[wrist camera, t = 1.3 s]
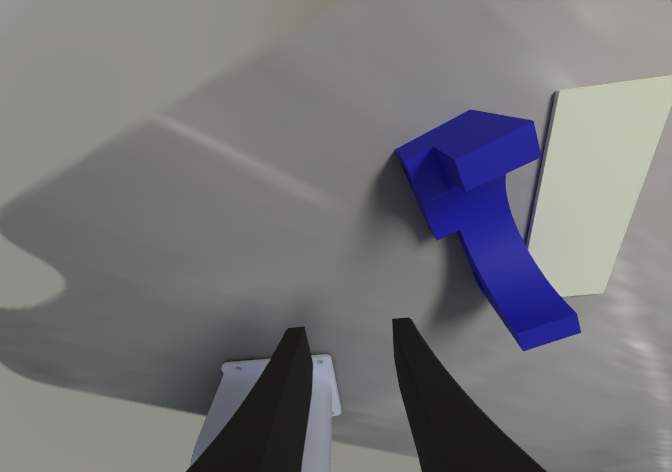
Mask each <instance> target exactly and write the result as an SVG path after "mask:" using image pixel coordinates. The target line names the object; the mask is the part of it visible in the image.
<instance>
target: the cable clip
mask: <svg viewBox="0 0 672 472" xmlns="http://www.w3.org/2000/svg"><path fill="white" fill-rule="evenodd" d="M395 152H396V154H397V156H398V158H399V161H400V163H401V165H402V167H403V170H404V172H405V174H406V176H407V179H408V181H409V183H410V185H411V188H412V190H413V192H414V194H415V197H416V199H417V201H418V203H419V206H420V208H421V210H422V212H423V215H424V217H425V219H426V221H427V224H428V226H429V228H430V230H431V232H432V234H433V235H434V237H435V239H436V240H439V239H441V238H444V237H446V236H448V235H450V234H453V233H455V232H457V234H458V236H459V239H460V241H461V244H462V246H463V249H464V251H465V254H466V256H467V259H468V261H469V264H470V266H471V269H472V271H473V274H474V276H475V279H476V281H477V284H478V286H479V288H480V289H481V291H482V292H483V294H484V295H485V296H486V298H487V299H488V301H489V302H490V304H491V305H492V307H493V308H494V310H495V311H496V312H497V314H498V315H499V317H500V318H501V320H502V321H503V323H504V324H505V325H506V327H507V328H508V330H509V331H510V333H511V334H512V336H513V337H514V339H515V340H516V341H517V343H518V344H519V346H520V347H521V349H522V350H523V351H526V350H529V349H532V348H535V347H538V346H541V345H544V344H547V343H550V342H554V341H557V340H560V339H563V338H566V337H569V336H572V335H575V334H578V333H581V330H580V326H579V321H578V317H577V313H576V312H575V311H574V310H573V309H572V308H571V307H570V306H569V305H568V304H567V303H566V302H565V301H564V300H563V299H562V297H561V296H560V295H559V294H558V293H557V292H556V290H555V289H554V288H553V287H552V285H551V284H550V283H549V281H548V280H547V279H546V277H545V276H544V275H543V273H542V272H541V270H540V269H539V267H538V266H537V264H536V263H535V261H534V259H533V258H532V256H531V254H530V253H529V251H528V249H527V247H526V245H525V244H524V242H523V240H522V238H521V236H520V234H519V231H518V229H517V227H516V224H515V222H514V219H513V217H512V214H511V211H510V207H509V203H508V199H507V194H506V183H505V180H506V173H508V172H510V171H512V170H515V169H517V168H519V167H521V166H523V165H525V164H527V163H530V162H532V161H534V160H536V159H538V158H540V157H541V152H540V148H539V143H538V139H537V134H536V130H535V126H534V121H532V120H526V119H521V118H515V117H509V116H504V115H498V114H493V113H487V112H481V111H476V110H469V111H467V112H465V113H463V114H461V115H459V116H457V117H455V118H454V119H452V120H450V121H448V122H446V123H444V124H442V125H440V126H439V127H437V128H435V129H433V130H431V131H429V132H427V133H425V134H423V135H422V136H420V137H418V138H416V139H414V140H412V141H410V142H408V143H406V144H405V145H403V146H401V147H399V148H397V149H395Z"/></svg>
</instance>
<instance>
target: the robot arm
mask: <svg viewBox="0 0 672 472" xmlns="http://www.w3.org/2000/svg"><path fill="white" fill-rule="evenodd" d="M392 324H393V344H394V359H395V365H396V371H397V377H398V382H399V387H400V391H401V395H402V398H403V402H404V406H405V409H406V413H407V417H408V420H409V424H410V427H411V431H412V435H413V438H414V442H415V446H416V449H417V453H418V457H419V461H420V465H421V470H422V472H547V471H546V470H544V469H543V468H542V467H541V466H540V465H539V464H538V463H537V462H535V461H534V460H533V459H532V458H531V457H530V456H529V455H528V454H527V453H526V452H524V451H523V450H522V449H521V448H520V447H519V446H518V445H517V444H516V443H515V442H513V441H512V440H511V439H510V438H509V437H508V436H507V435H506V434H505V433H504V432H503V431H502V430H501V429H500V428H499V427H498V426H497V425H496V424H495V423H494V422H493V421H492V420H491V419H490V418H489V417H488V416H487V415H486V414H485V413H484V412H483V411H482V410H481V409H480V408H479V407H478V406H477V405H476V404H475V403H474V402H473V400H472V399H471V398H470V397H469V396H468V395H467V394H466V393H465V392H464V390H463V389H462V388H461V387H460V386H459V385H458V383H457V382H456V381H455V380H454V379H453V378H452V376H451V375H450V374H449V373H448V371H447V370H446V369H445V368H444V366H443V365H442V364H441V362H440V361H439V360H438V358H437V357H436V356H435V354H434V353H433V352H432V350H431V349H430V348H429V346H428V345H427V343H426V342H425V340H424V339H423V337H422V336H421V334H420V333H419V331H418V330H417V328H416V326H415V325H414V323H413V321H412V319H410V318H398V319H392ZM319 360H321V361H319ZM221 369H222V372H223V374H224V375H223V378H222V380H221V383H220V385H219V388H218V390H217V392H216V395H215V397H214V400H213V402H212V405H211V407H210V410H209V412H208V415H207V417H206V420H205V422H204V425H203V427H202V430H201V432H200V435H199V437H198V440H197V442H196V445H195V448H194V451H193V455H192V459H191V464H190V468H189V469H188V470H187V471H186V472H331V436H332V416H338V415H340V414H341V405H340V400H339V394H338V389H337V384H336V379H335V373H334V368H333V363H332V358H331V356H330V355H327V354H321V355H311V353H310V349H309V344H308V340H307V336H306V332H305V327H295V328H288V329H287V330H286V332H285V334H284V336H283V338H282V340H281V341H280V343H279V345H278V347H277V349H276V351H275V352H274V354H273V356H272V357H271V359H259V360H247V361H235V362H225V363H224V364H223V365H222V368H221Z"/></svg>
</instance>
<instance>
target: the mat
mask: <svg viewBox="0 0 672 472" xmlns="http://www.w3.org/2000/svg"><path fill="white" fill-rule="evenodd" d="M671 106H672V75H668V76H661V77H653V78H646V79H638V80H631V81H624V82H616V83H609V84H601V85H594V86H587V87H579V88H572V89H564V90H557V91H556V93H555V98H554V103H553V108H552V113H551V118H550V124H549V129H548V134H547V139H546V144H545V149H544V154H543V160H542V165H541V170H540V175H539V180H538V185H537V191H536V196H535V201H534V206H533V211H532V216H531V221H530V227H529V232H528V237H527V242H526V247H527V249H528V251H529V253H530V254H531V256H532V258H533V259H534V261H535V263H536V264H537V266H538V267H539V269H540V270H541V272H542V273H543V275H544V276H545V277H546V279H547V280H548V281H549V283H550V284H551V285H552V287H553V288H554V289H555V290H556V292H557V293H558V294H559V295H560V296H561V297H566V296H577V295H588V294H599V293H604V290H605V287H606V284H607V282H608V279H609V276H610V273H611V271H612V268H613V265H614V262H615V260H616V257H617V254H618V251H619V249H620V246H621V243H622V240H623V238H624V235H625V232H626V229H627V227H628V224H629V221H630V218H631V216H632V213H633V210H634V207H635V205H636V202H637V199H638V196H639V194H640V191H641V188H642V185H643V183H644V180H645V177H646V174H647V172H648V169H649V166H650V163H651V161H652V158H653V155H654V152H655V150H656V147H657V144H658V141H659V139H660V136H661V133H662V130H663V128H664V125H665V122H666V119H667V117H668V114H669V111H670V108H671Z"/></svg>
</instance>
